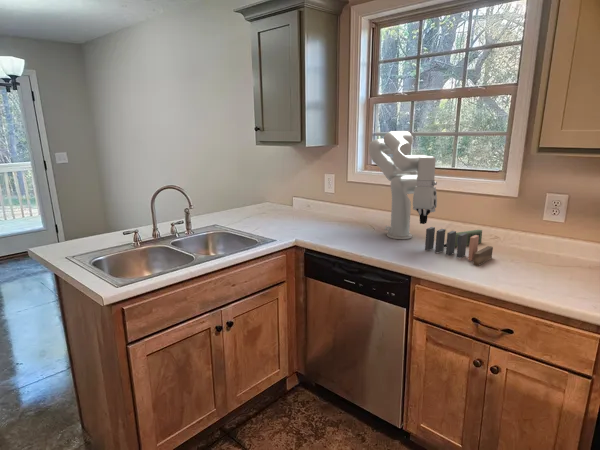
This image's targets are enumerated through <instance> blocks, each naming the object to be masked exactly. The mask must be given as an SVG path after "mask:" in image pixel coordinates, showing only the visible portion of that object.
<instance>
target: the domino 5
mask: <svg viewBox="0 0 600 450" xmlns="http://www.w3.org/2000/svg"><path fill="white" fill-rule="evenodd" d="M478 241H479V236H478V235H474V236H472V237H470V245H468V247H469V248H468V256H467V257H468V258H467V260H468V261H471V262H472V261H474V253H476V252H477V251H479V250H478V249H479V243H478Z"/></svg>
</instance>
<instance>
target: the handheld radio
mask: <svg viewBox="0 0 600 450" xmlns="http://www.w3.org/2000/svg"><path fill="white" fill-rule="evenodd" d="M462 233H467V243H466V246H469V245H470V237H472V236H474V235H478V236H479V241H478V244H482V241H483V240H482V238H483V230H482V229H474V230H467V231H465V230H464V231H460V232H459V231H458V232H457V231H456V239H455V248H457V247H458V236H459V235H460V234H462ZM446 244H447V243H444V248H446Z"/></svg>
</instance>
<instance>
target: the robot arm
mask: <svg viewBox="0 0 600 450" xmlns="http://www.w3.org/2000/svg"><path fill="white" fill-rule="evenodd" d="M412 144H413V136H412V134H411V133H410V132H409V131H407V130H392V131H388V132H387V133H385V134H384V136H383V138H375V139H373V140H372V141H370V143H369V145H368V153H369V156H370V159H371V161H372V162H373V163H374V164H375V165H376V166H377V167H378V168H379V169H380V171H381V172H382V174H383V175H384V177H385V178H386V179H387V180H388V181H390V191H391V210H390V211H391V213H390V226H389V225H385V226H384V231H388V232H387V234H386V236H387V237H388V238H390V239H392V240H393V239H394V240H410V239H412V238H413V234H412V233H411V232H410V225H411V212H412V211H411V210H414V211H416V212H417V214H418V215H419V224H420V225H421V224H422V225H425V224H427V222H428V215H429V214H430V213H436V208H437V206H438V194H437V188H436V187H435V186H437V184H438V182H437V181H435V178H436V177H435V175H436V162H437V161H436V157H435V156H432V155H426V154H410V152H411V150H412V149H411V147H412ZM391 155H392V156H391ZM410 194H412V201H411V199H410V197H409V196H408V195H410ZM411 208H412V209H411Z"/></svg>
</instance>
